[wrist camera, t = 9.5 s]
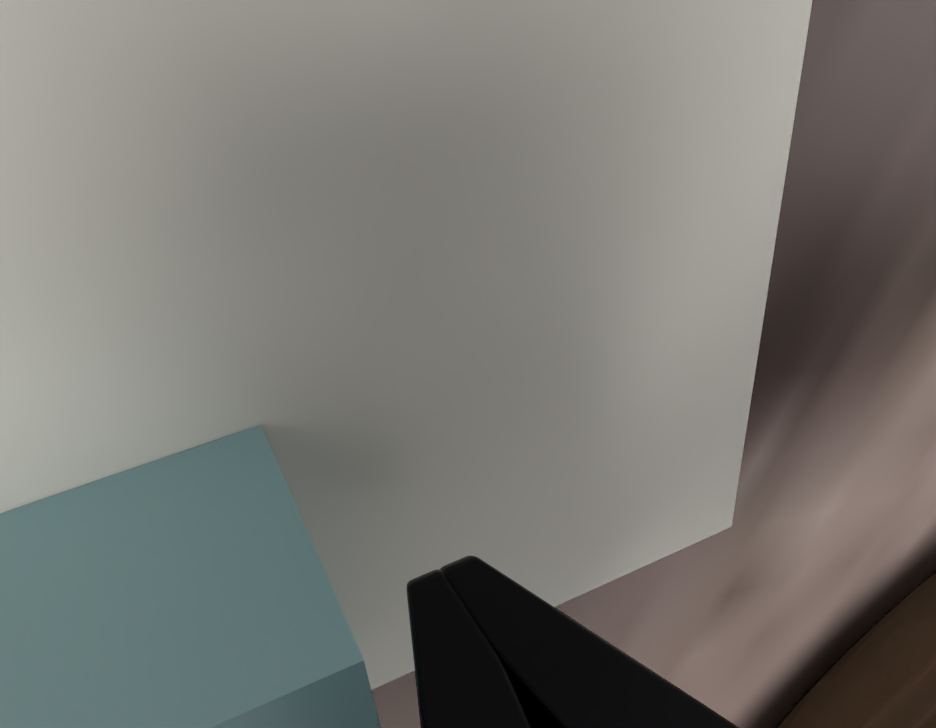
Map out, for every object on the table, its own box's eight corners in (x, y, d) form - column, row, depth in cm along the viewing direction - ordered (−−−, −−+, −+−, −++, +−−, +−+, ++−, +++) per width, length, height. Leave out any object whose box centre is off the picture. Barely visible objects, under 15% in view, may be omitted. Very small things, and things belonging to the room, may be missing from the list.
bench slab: (717, -404, 8) (879, -435, 7) (655, 449, 15) (731, 526, 14) (-625, -315, 5) (-845, -335, 4) (40, 700, 12) (51, 835, 11)
